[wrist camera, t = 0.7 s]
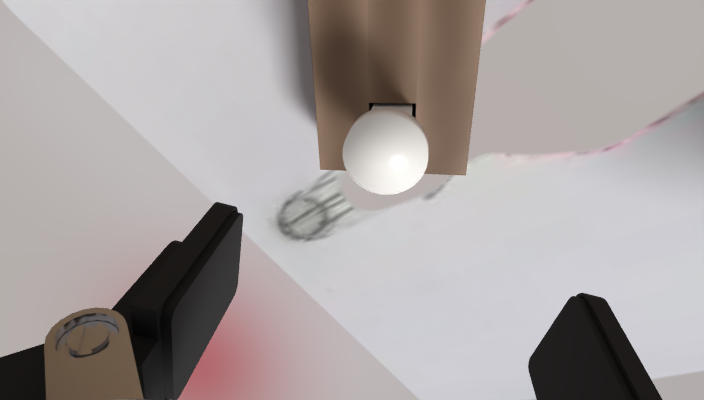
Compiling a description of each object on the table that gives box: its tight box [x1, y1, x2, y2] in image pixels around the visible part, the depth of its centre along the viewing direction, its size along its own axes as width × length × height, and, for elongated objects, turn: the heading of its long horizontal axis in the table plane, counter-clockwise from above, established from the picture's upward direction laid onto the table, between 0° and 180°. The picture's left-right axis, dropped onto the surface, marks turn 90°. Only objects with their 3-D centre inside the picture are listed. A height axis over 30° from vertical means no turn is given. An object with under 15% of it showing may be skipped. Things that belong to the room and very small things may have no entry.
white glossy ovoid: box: [343, 103, 428, 194], centre depth 30 cm, size 6×6×8 cm
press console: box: [308, 0, 486, 175], centre depth 31 cm, size 12×24×6 cm, turn 2°
